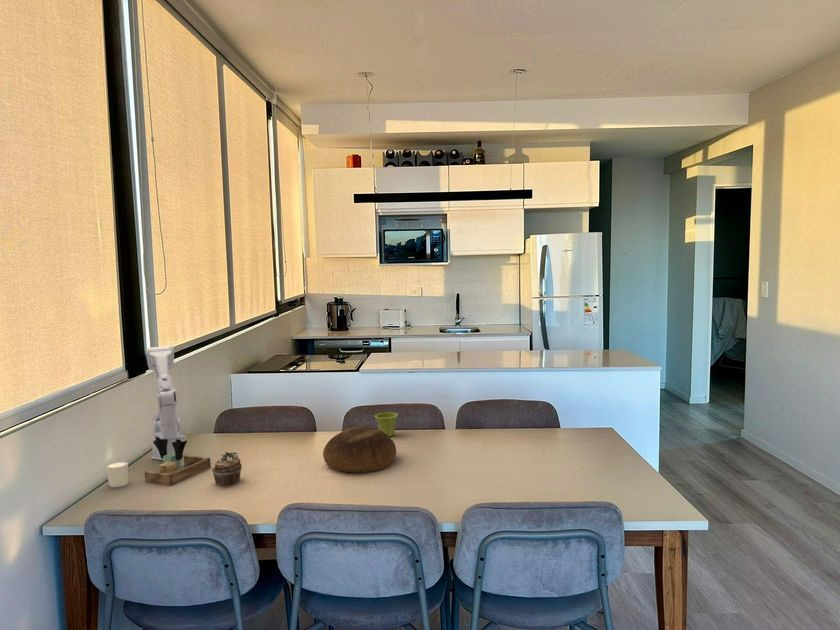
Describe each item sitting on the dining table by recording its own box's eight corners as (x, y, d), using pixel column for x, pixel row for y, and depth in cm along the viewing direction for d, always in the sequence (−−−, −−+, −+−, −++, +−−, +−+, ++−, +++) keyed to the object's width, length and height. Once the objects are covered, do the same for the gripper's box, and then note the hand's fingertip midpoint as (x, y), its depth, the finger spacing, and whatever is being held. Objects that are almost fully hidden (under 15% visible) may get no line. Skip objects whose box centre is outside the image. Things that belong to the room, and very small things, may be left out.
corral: (145, 481, 209) (144, 471, 209) (186, 463, 227) (185, 454, 226) (170, 485, 205) (169, 475, 204) (210, 467, 222) (210, 458, 221)
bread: (411, 460, 222) (409, 425, 221) (355, 481, 203) (353, 443, 201) (365, 447, 240) (363, 415, 239) (310, 465, 221) (308, 430, 219)
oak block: (160, 478, 212) (159, 465, 211) (169, 475, 215) (168, 461, 215) (168, 480, 210) (167, 466, 209) (177, 476, 214) (176, 462, 213)
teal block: (164, 469, 222) (163, 456, 221) (172, 465, 226) (171, 452, 225) (172, 470, 220) (171, 457, 220) (180, 466, 224) (179, 453, 224)
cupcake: (219, 477, 211) (217, 449, 210) (246, 476, 210) (244, 449, 210) (208, 487, 201) (206, 458, 200) (237, 487, 201) (235, 458, 200)
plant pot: (397, 438, 250) (396, 417, 249) (375, 438, 250) (374, 418, 249) (398, 431, 259) (398, 412, 258) (377, 432, 259) (376, 412, 258)
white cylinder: (134, 481, 210) (132, 462, 209) (118, 488, 203) (116, 468, 203) (119, 479, 212) (117, 460, 211) (103, 487, 206) (101, 467, 205)
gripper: (145, 424, 221) (148, 460, 222) (174, 427, 215) (177, 463, 216) (160, 419, 227) (163, 454, 228) (189, 422, 221) (192, 457, 222)
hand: (171, 458), depth 223 cm, fingers open, 7 cm apart
